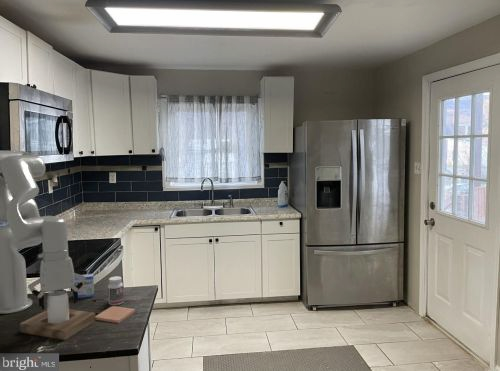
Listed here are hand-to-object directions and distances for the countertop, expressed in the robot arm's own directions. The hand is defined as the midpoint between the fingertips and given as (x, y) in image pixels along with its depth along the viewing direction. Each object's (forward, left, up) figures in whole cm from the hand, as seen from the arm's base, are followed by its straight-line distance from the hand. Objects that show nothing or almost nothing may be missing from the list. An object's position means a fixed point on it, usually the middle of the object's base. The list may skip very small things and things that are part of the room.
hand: (59, 305), depth 129 cm
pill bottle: (+5, +23, -8) cm, 25 cm away
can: (-1, 0, -8) cm, 8 cm away
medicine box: (-12, +25, -8) cm, 29 cm away
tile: (+12, +13, -8) cm, 20 cm away
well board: (-1, 0, -8) cm, 8 cm away
